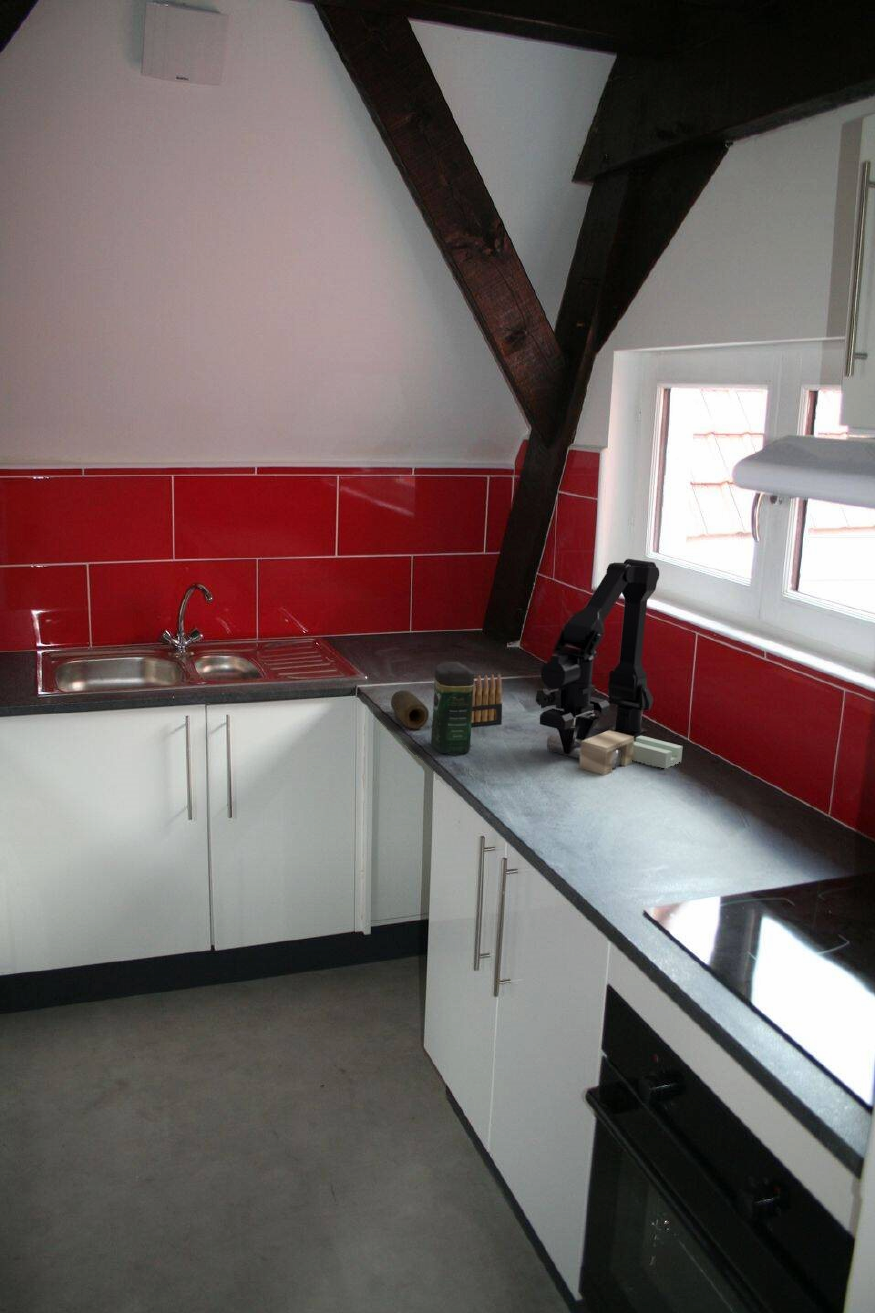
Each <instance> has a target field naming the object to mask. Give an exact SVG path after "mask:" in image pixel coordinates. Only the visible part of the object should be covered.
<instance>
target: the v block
mask: <svg viewBox="0 0 875 1313" xmlns="http://www.w3.org/2000/svg"><path fill="white" fill-rule="evenodd" d="M683 748H684V747H683V745H678V744H675V743H672V742H668V741H663V740H660V739H656V738H653V737H649V736H645V735H637V736H635V741H634V745H633V755H632V760H633V761H632V762H636V761H637V762H636V763H639V762H641V763H640V764H643V763H645V764H644V765H646V766H647V765H648V766H650V765H652V766H651V767H654V766H658V767H662V768H667V769H669V768H668V767H670V766H672V767H674V766H675V764H676V765H677V764H680V763H682V758H683V757H682V755H683ZM679 762H680V763H679ZM670 768H671V767H670Z"/></svg>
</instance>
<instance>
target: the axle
mask: <svg viewBox="0 0 875 1313" xmlns="http://www.w3.org/2000/svg"><path fill="white" fill-rule="evenodd" d="M581 741H583V740H581V739H577V738H575V741H574V744H573V747H572V749H571V751H570V754H565V753H564V750H563V746H562V742H561V738H560V735H559V732H555V731H553V732H551V733H550V734H549V735H548V737H547V739H546V748H547V750H548V751H549V752H554V753H556V754H557V753H558V754H561V755H563V756H568V757H572V758H576V759H578V760H580V752H581ZM621 758H622V754H621V751H620V750H618V749H614V750H613V761H612V769H615V768H616V769H618V768H619V766H620V762H621Z"/></svg>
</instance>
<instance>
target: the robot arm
mask: <svg viewBox="0 0 875 1313" xmlns="http://www.w3.org/2000/svg"><path fill="white" fill-rule="evenodd" d="M659 578H660V570H659V567H658V566H657V565H656V563H655V562H653V561H647V560H641V559H633V558H627V559H625V560H624V562H612V563H611V562H610V563H609V564H608V566H607V568H606V573H605V575H604V576H603V577H602V579H601V581H600V582H599V585H598V586H597V588H596V589H595V591H593V594H592V595H591V597H590V598H589V600H588V601H587V603H586V605H585V606H584V608H583V609H581V610H579V611H577V612H575V613H573V614H572V615H571V617H569V619H568V620H567V621H566V623H565V624H564V626H563V627H562V629H561V631H560V634H559V636H558V638H557V641H556V642H555V645H554V647H553V650H552V653H554V654H551V655H550V661H547V662H546V663H544V665H543V666H542V668H541V670H540V676H541V680H542V682H543V684H544V685H545V687H547V688H541V689H538V690H536V695H535V702H536V704H537V705H538V706H540V708H541V709H544V708H546V707H553V706H555V708H550V709H548V710H545V711H543V712H542V713H540V715H539V725H541V726H545V727H549V728H552V729H556V730H557V733H558V734H559V735H560V738H561V742H562V746H563V750H564V753H565V754H570V751H571V749H572V747H573V744H574V741H575V738H577V739H581V740H585V739H588V738H589V736H590V734H591V732H592V731H593V729H594V727H596V725H597V723H598V721H600V719H601V717H599V716H596V715H595V714H596V713H595V712H594V711H597V712H598V713H599V714H600V716H606V715H608V714H610V708H611V707H610V706H611V705H614V706H615V705H616V713H615V725H614V726H612V727H610V728H608V730H611V731H615V732H618V733H622V734H626V735H630V736H634V737H638V736H640V735H642V734H644V733H646V732H648V731H647V730H648V729H647V728H643V727H642V718H643V711H650V710H651V709H652V705H653V702H654V697H653V696H652V692H650V689H649V688H648V675H647V673H646V671H645V669H644V667H643V664H642V657H643V648H644V647H643V646H644V637H645V627H646V617H647V608H648V607H647V606H648V600H649V599H650V597H651V596H652V595H653V594H654V592H655V591H656V590H657V584H658V581H659ZM621 595H622V597H623V598H624V608H623V615H622V626H621V628H622V629H621V639H620V650H619V659H618V664H616V666H615V667H614V668H613V670H610V671H609V673H608V683H607V695H608V696H607V697H608V700H607V699H602V698H599V697H596V696H595V697H594V696H592V695H591V694H592V692H594V691H596V685H595V684H594V685H593V683H592V682H593V672H594V671H593V669H594V668H593V667H594V660H595V658H598V657H599V653H598V652H597V651H596V650H597V648H598V647H599V645H600V644H601V642H602V638H603V636H604V634H605V629H604V628H605V627H604V623H605V620H606V619H607V617H609V614H610V613H611V611H612V609H613V607H614V606H615V605H616V603H617V601H618V599H619V598H620V596H621ZM548 688H549V689H551V690H549V689H548ZM561 709H562V710H561Z"/></svg>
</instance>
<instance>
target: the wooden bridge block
mask: <svg viewBox="0 0 875 1313" xmlns="http://www.w3.org/2000/svg"><path fill="white" fill-rule="evenodd" d="M634 742H635V736H630V735H626V734H622V733H618V732H615V731H611V730H609V729H608V730H606V731H604V732H600V733H599V734H596V735H593V736H591V737H587V739H585V740H583V741H581V752H580V759H579V763H578V764H579V766H578V767H579V769H582V770H584V771H585V770H586V771H589V772H591V773H596V774H599V775H601V776H606V775H608V774H610V773H612V771H613V768H612V761H613V750H614V749H618V750H620V751H621V754H622V758H621V762H620V764H619V766H623V767H626V766H628V765H630V764H632V763H633V761H632V755H633V745H634Z"/></svg>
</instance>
